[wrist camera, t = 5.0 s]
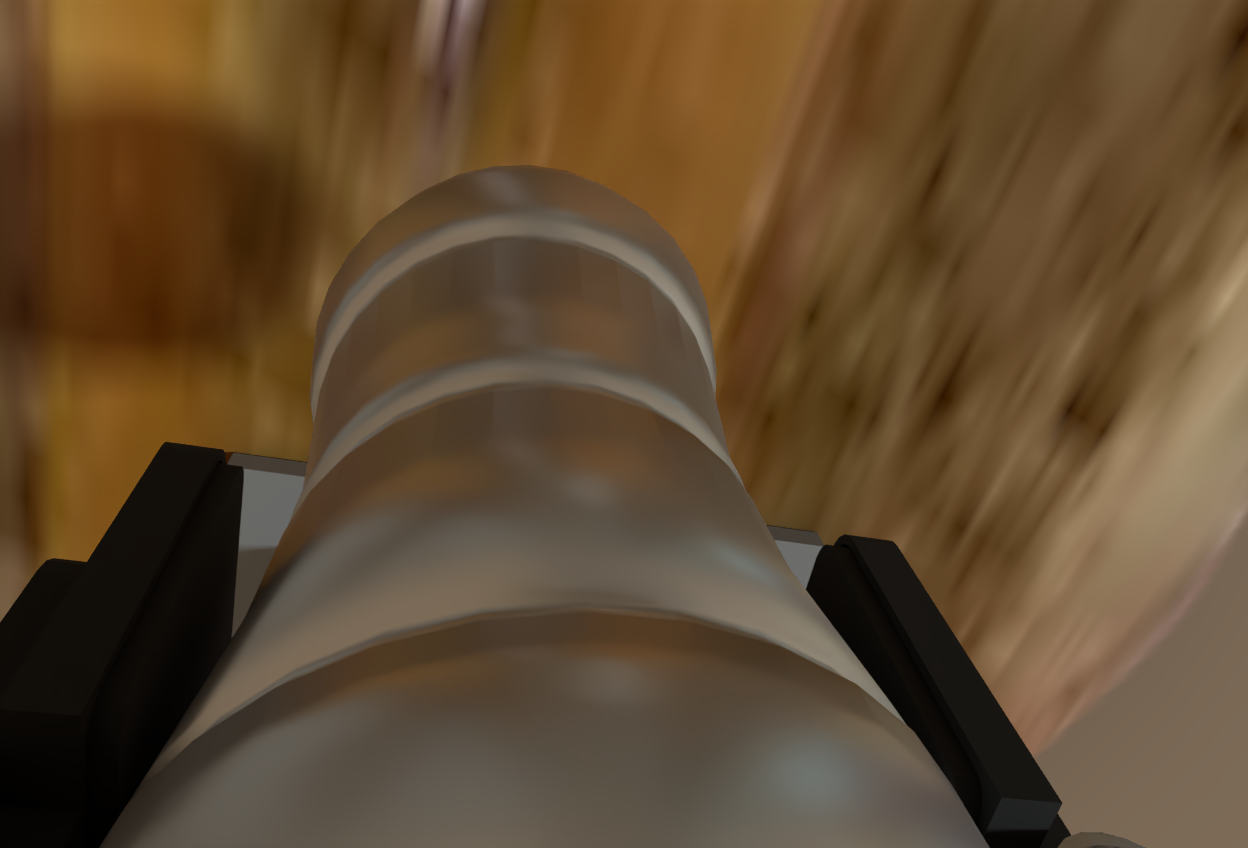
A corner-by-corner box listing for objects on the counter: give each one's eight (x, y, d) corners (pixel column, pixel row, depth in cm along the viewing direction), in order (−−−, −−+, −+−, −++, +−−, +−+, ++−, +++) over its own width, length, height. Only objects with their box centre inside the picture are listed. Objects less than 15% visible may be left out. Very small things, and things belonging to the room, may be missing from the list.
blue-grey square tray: (233, 452, 27) (200, 515, 24) (816, 532, 30) (852, 596, 27) (198, 906, 33) (168, 1001, 30) (686, 935, 36) (704, 1024, 33)
